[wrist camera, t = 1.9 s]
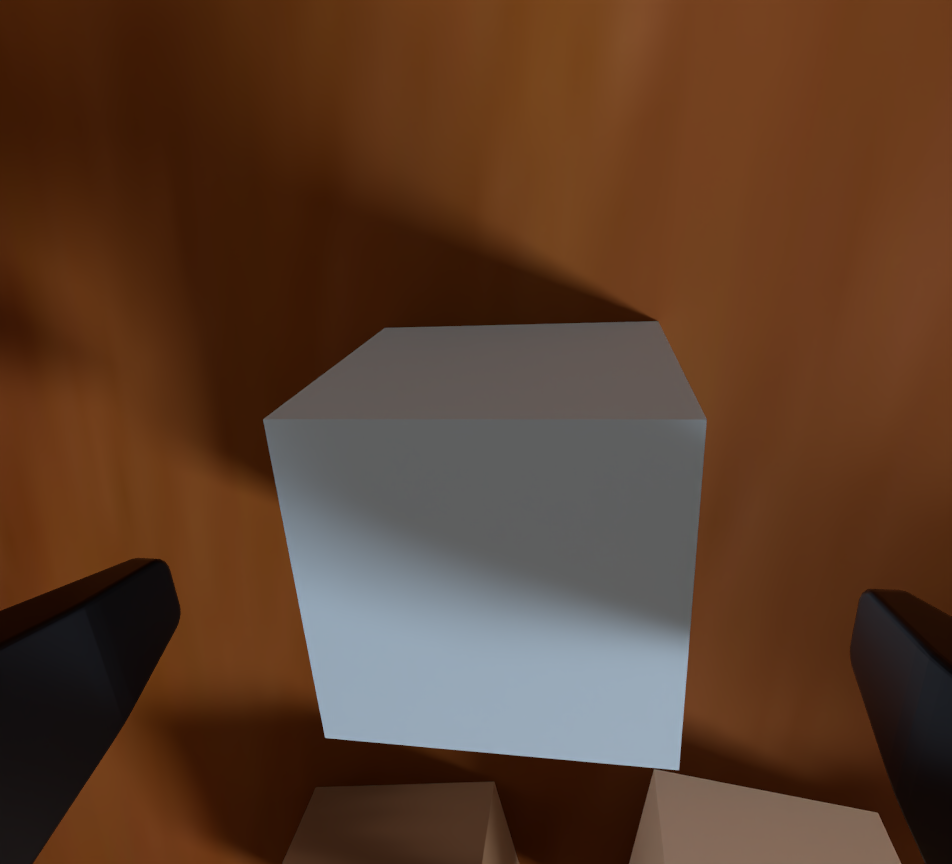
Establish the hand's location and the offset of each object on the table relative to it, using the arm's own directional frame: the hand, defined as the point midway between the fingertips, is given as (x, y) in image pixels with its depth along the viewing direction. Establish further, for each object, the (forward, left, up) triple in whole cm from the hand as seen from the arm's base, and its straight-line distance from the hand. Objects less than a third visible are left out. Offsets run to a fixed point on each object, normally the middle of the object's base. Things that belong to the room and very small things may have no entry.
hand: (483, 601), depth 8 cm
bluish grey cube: (0, 0, -5) cm, 5 cm away
